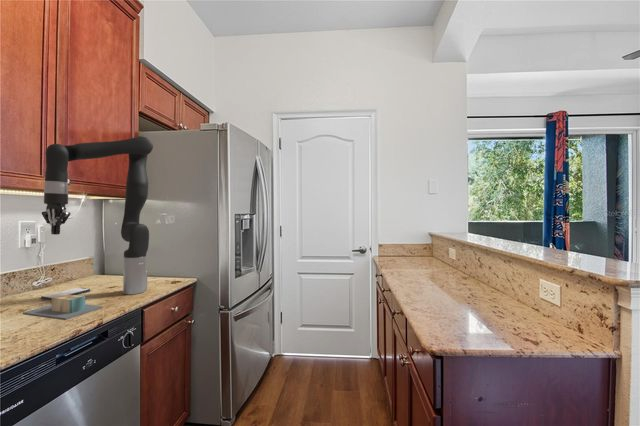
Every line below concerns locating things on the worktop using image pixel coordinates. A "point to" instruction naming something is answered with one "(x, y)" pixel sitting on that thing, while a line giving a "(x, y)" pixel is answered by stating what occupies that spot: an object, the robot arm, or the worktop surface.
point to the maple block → (68, 303)
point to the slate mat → (48, 312)
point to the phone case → (70, 292)
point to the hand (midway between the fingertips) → (55, 234)
